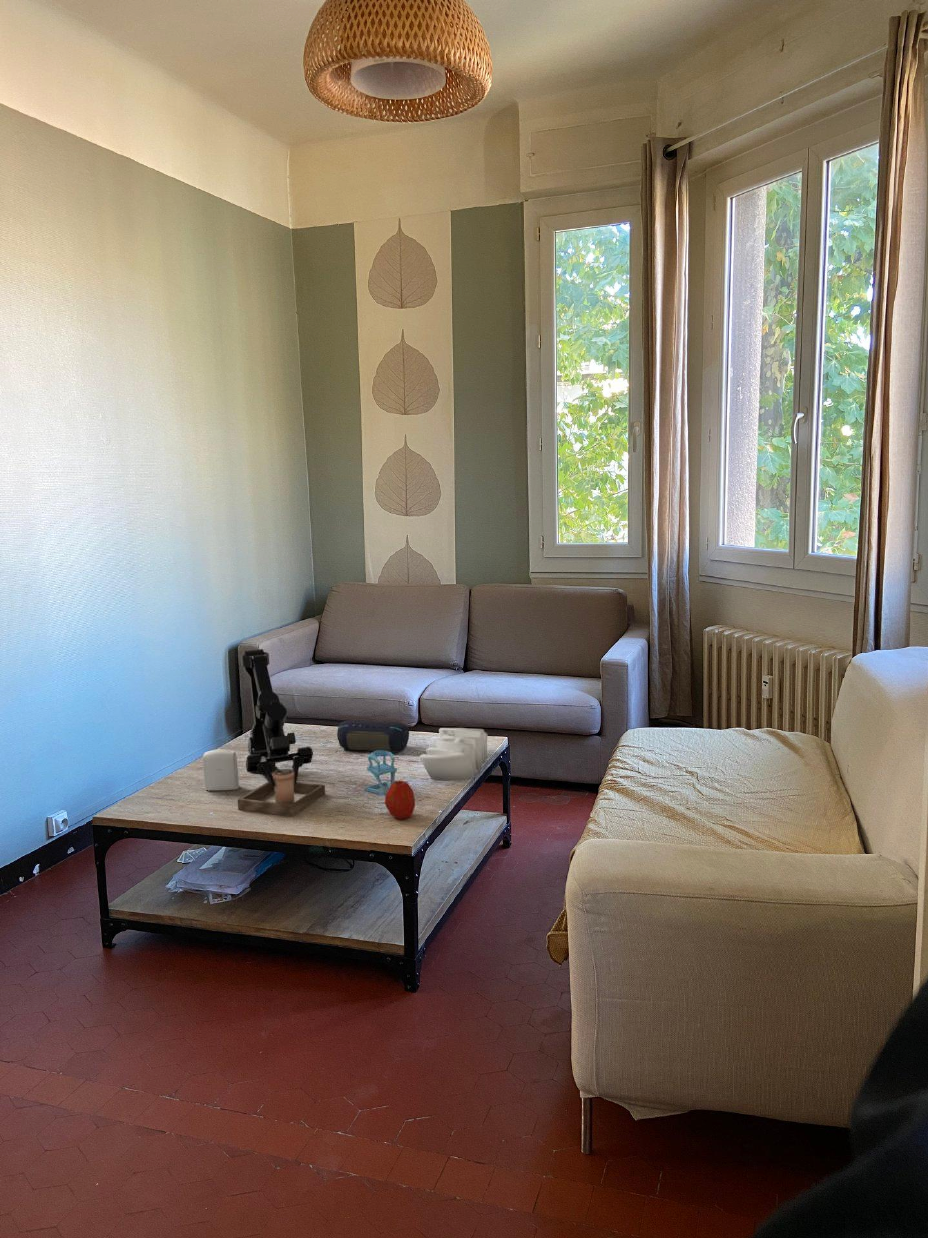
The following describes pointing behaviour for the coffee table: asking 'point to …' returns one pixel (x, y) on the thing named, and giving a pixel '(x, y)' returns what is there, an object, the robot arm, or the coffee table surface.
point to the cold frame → (252, 804)
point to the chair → (381, 771)
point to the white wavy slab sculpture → (456, 754)
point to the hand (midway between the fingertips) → (284, 785)
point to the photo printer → (220, 770)
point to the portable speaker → (373, 735)
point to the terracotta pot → (284, 786)
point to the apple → (400, 800)
